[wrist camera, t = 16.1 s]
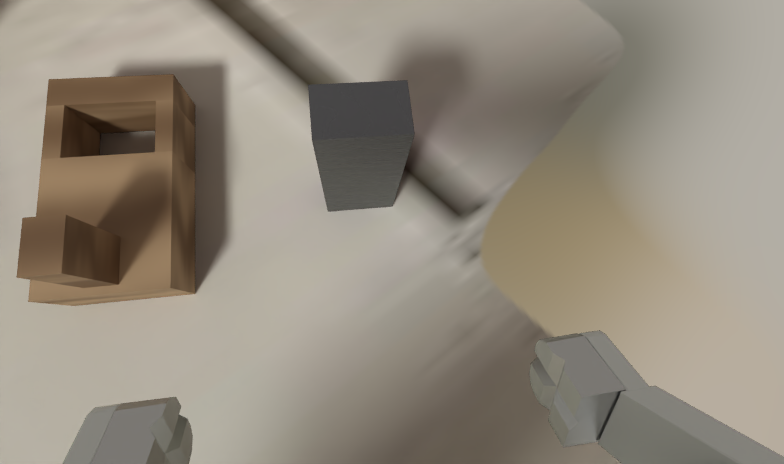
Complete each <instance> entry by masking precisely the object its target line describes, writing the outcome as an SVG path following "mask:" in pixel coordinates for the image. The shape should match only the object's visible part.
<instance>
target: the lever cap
mask: <svg viewBox="0 0 784 464" xmlns="http://www.w3.org/2000/svg"><path fill="white" fill-rule="evenodd" d="M308 90H309V104H310V118H311V132H312V142H313V146H314V151H315V155H316V160H317V164H318V169H319V173H320V178H321V182H322V187H323V191H324V196H325V201H326V205H327V210H328V211H341V210H353V209H366V208H378V207H391V206H393V203H394V200H395V197H396V193H397V190H398V187H399V184H400V180H401V177H402V174H403V170H404V167H405V164H406V160H407V157H408V154H409V151H410V147H411V144H412V141H413V137H414V126H413V119H412V111H411V104H410V97H409V89H408V82H407V80H404V81H382V82H360V83H338V84H316V85H308Z"/></svg>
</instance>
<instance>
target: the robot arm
mask: <svg viewBox="0 0 784 464" xmlns="http://www.w3.org/2000/svg"><path fill="white" fill-rule="evenodd" d="M534 351H535V353H536V355H537V356H538V357H537V358H536V359H535V360H534V361H533V362H532V363H531V366H530V372H529V375H530V382H531V386H532V389H533V392H534V394H535V396H536V398H537V400H538V402H539V403H540V404H541V405H543V406H544V407H546V408H547V409H548V410H550V412H549V418H548V421H549V423H550V424H551V426H552V428H553V430H554V432H555V434H556V435H557V437H558V439H559V441H560V443H561V445H562V446H563V447H568V446H574V445H580V444H587V443H593V442H598V444H599V445H600V446H601V447H603V448H604V449H605V450H606V451H607V452H609V453H610V454H611V455H612V456H613V457H615V458H616V459H617V460H618V461H620V462H621V463H622V464H784V457H783V456H781V455H779V454H777V453H776V452H774V451H772V450H770V449H769V448H767V447H765V446H763V445H761V444H760V443H758V442H756V441H754V440H752V439H750V438H749V437H747V436H745V435H743V434H741V433H740V432H738V431H736V430H734V429H732V428H731V427H729V426H727V425H725V424H723V423H722V422H720V421H718V420H716V419H714V418H712V417H711V416H709V415H707V414H705V413H704V412H702V411H700V410H698V409H696V408H695V407H693V406H691V405H689V404H687V403H686V402H683V401H682V400H680V399H678V398H676V397H675V396H673V395H671V394H669V393H667V392H666V391H663V390H662V389H660V388H658V387H657V386H650V387H649V386H648V385H647V383H646V382H645V381H644V380H643V379H642V377H641V376H640V375H639V374H638V373H637V371H636V370H635V369H634V368H633V367H632V365H631V364H630V363H629V362H628V361H627V360H626V358H625V357H624V356H623V355H622V353H621V352H620V351H619V350H618V349H617V347H616V346H615V345H614V344H613V343H612V341H611V340H610V339H609V338H608V337H607V335H606V334H605V333H603V332H601V331H600V330H599V331H592V332H586V333H580V334H570V335H564V336H558V337H553V338H547V339H541V340H539V341H538V342H537V343H536V346H535V350H534ZM180 409H181V405H180V403H179V401H178V399H177V398H176V397H170V398H162V399H154V400H146V401H138V402H131V403H123V404H116V405H109V406H102V407H95V408H94V409H93V410H92V411H91V412H90V413H89V414H88V415H87V416H86V418H85V420H84V422H83V424H82V426H81V428H80V430H79V432H78V434H77V436H76V438H75V440H74V442H73V444H72V446H71V448H70V450H69V452H68V454H67V456H66V458H65V460H64V462H63V464H189V461H190V457H191V453H192V439H193V435H192V430H191V425H190V423H189V421H188V419H187V418H185V417H183V416H181V415H179V412H180Z"/></svg>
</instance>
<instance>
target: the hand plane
mask: <svg viewBox="0 0 784 464" xmlns="http://www.w3.org/2000/svg"><path fill="white" fill-rule="evenodd" d="M153 130H155V152H150V153H133V154H117V155H100V156H99V151H100V134H101V133H117V132H135V131H153ZM17 278H24V279H30V289H29V300H28V302H37V303H48V304H59V305H70V306H77V305H87V304H97V303H107V302H117V301H127V300H137V299H147V298H158V297H168V296H178V295H188V294H195V104H194V103H193V102H192V100H191V99H190V97H189V96H188V94H187V93H186V92H185V90H184V89H183V87H182V86H181V84H180V83H179V82H178V80H177V79H176V77H175V76H174V75H173V74H169V75H144V76H120V77H95V78H71V79H49V83H48V94H47V104H46V115H45V126H44V137H43V148H42V159H41V170H40V181H39V191H38V202H37V213H36V217H28V218H23V219H22V229H21V239H20V249H19V259H18V269H17Z"/></svg>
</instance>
